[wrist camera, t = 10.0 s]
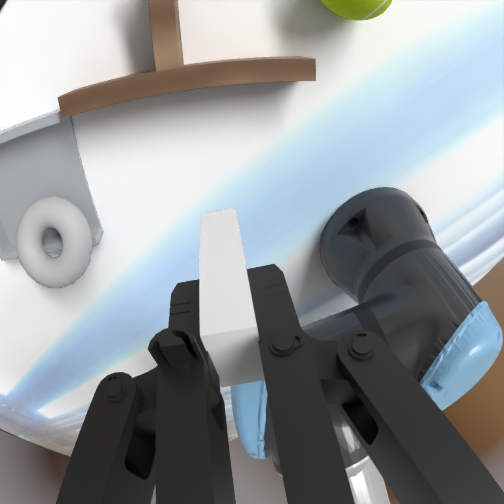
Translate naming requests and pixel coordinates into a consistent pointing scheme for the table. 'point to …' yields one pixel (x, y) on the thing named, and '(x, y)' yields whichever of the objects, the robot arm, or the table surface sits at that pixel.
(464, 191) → the table surface
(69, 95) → the t rack
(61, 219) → the donut
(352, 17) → the tennis ball
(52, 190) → the tray
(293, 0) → the table surface
